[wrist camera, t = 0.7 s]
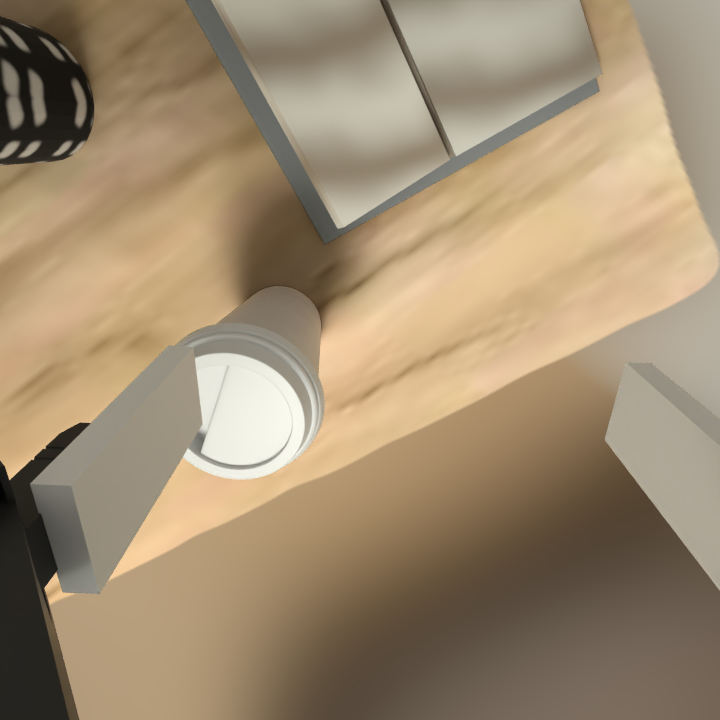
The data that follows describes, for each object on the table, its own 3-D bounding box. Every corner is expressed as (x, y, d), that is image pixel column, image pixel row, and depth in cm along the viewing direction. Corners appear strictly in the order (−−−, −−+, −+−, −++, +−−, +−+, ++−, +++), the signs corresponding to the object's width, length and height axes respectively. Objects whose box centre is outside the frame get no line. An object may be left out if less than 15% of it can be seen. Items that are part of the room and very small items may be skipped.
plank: (145, -119, 25) (145, -137, 24) (288, -175, 28) (294, -193, 26) (337, 228, 32) (344, 227, 31) (440, 163, 34) (450, 159, 33)
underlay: (141, -80, 30) (139, -82, 30) (461, -338, 25) (462, -343, 25) (325, 243, 37) (324, 244, 37) (597, 91, 33) (599, 91, 32)
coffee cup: (274, 240, 37) (214, 298, 24) (364, 324, 40) (357, 420, 26) (199, 324, 40) (108, 419, 27) (287, 397, 43) (245, 518, 29)
